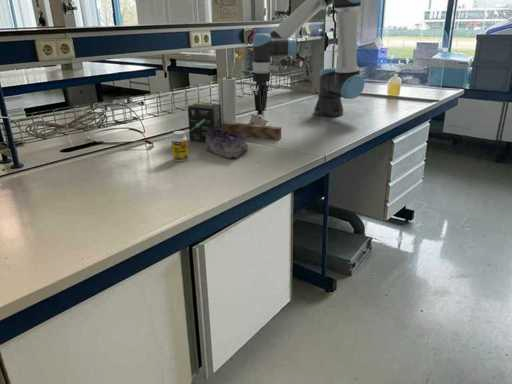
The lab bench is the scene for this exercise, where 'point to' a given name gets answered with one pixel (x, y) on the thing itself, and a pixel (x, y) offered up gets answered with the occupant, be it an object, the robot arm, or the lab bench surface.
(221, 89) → the paper towel roll
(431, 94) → the lab bench surface
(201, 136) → the tampon box
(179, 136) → the supplement bottle
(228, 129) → the board
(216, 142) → the geode
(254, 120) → the game die
